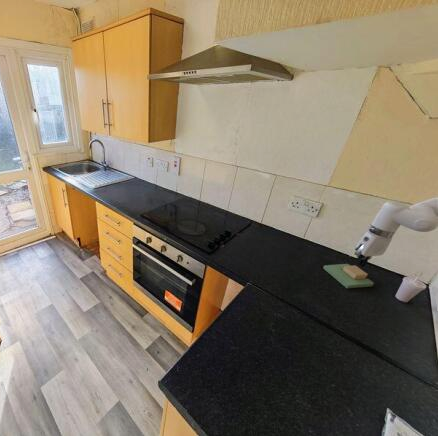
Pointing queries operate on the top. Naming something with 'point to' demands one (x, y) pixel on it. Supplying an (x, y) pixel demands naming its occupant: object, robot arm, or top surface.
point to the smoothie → (409, 288)
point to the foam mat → (346, 277)
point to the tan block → (354, 272)
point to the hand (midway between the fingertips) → (358, 264)
